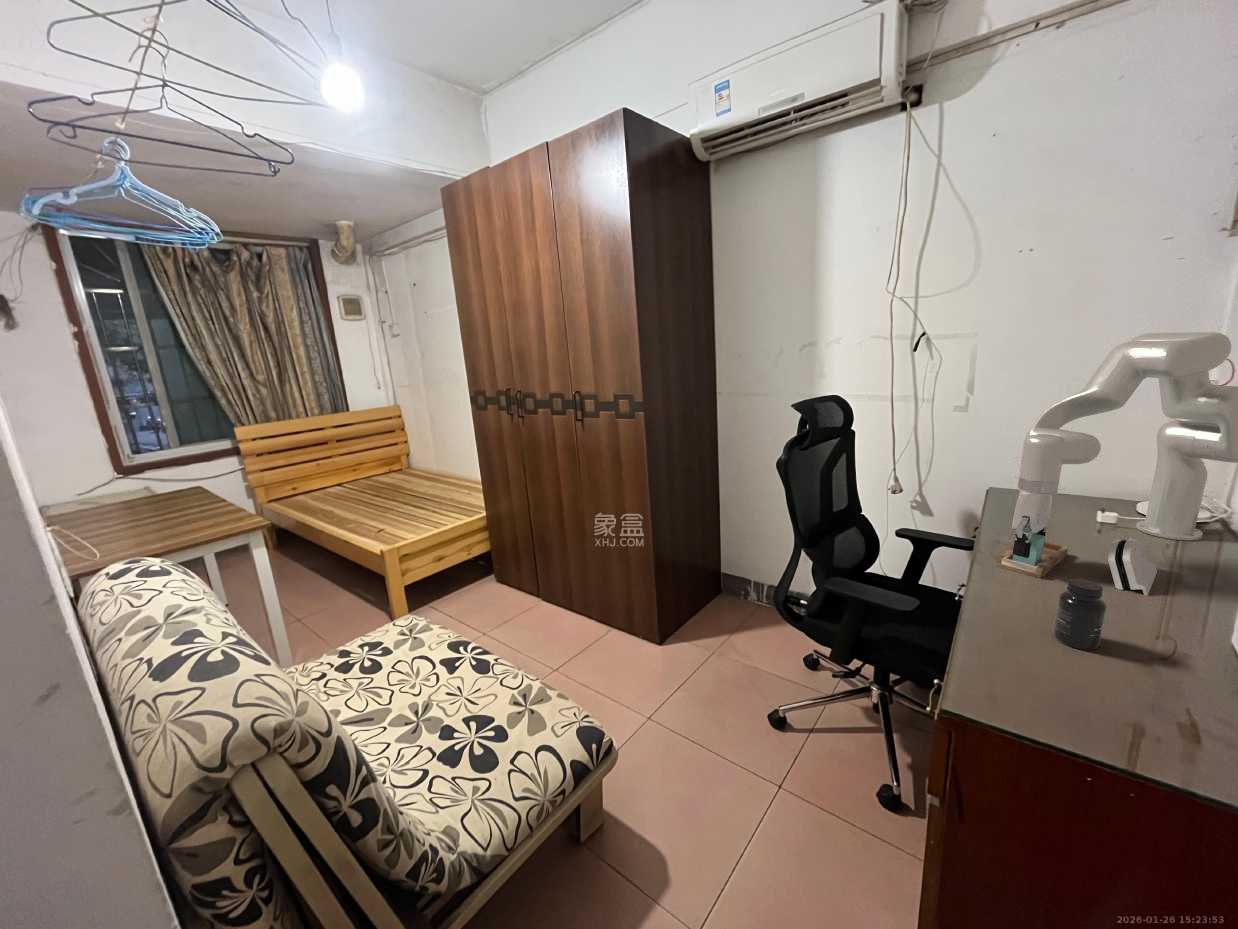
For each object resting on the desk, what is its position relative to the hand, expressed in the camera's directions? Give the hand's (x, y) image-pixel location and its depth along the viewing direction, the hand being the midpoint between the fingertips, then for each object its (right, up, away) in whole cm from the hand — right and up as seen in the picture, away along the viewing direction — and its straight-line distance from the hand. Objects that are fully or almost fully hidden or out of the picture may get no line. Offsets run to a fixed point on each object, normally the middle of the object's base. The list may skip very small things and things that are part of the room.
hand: (1028, 550), depth 126 cm
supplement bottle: (-14, -13, -29) cm, 34 cm away
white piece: (+17, -6, -8) cm, 20 cm away
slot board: (+4, -3, +3) cm, 6 cm away
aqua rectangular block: (0, -3, +1) cm, 3 cm away
